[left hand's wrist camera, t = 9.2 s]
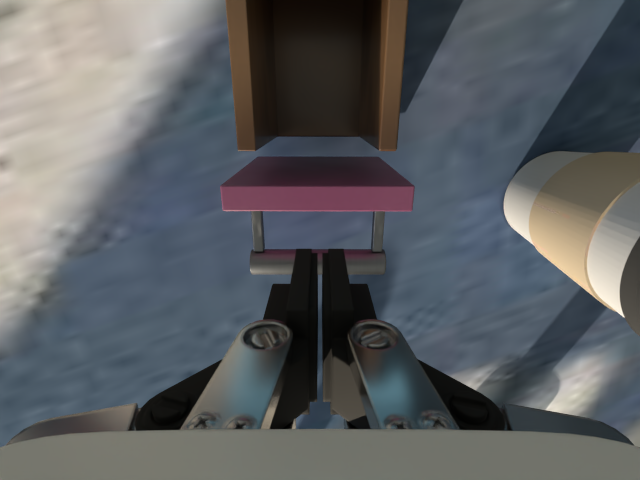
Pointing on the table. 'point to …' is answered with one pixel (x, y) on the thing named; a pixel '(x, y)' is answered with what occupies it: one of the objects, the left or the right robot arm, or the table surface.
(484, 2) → the table surface
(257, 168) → the drawer
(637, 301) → the coffee cup
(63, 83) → the table surface
